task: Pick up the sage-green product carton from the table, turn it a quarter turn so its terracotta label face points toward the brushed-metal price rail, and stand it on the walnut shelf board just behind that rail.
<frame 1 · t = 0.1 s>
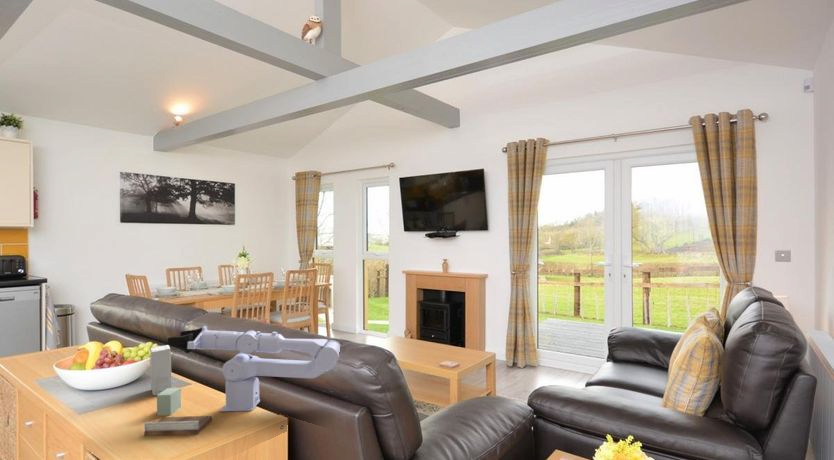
hand: (174, 338, 136), 22 cm above the sideboard, tool horizontal, fingers open, 7 cm apart
product carton: (169, 411, 134), on the sideboard
price rail: (171, 425, 118), on the shelf board, point 2 cm above the sideboard
shelf board: (179, 427, 123), on the sideboard
skincare box: (161, 391, 152), on the sideboard
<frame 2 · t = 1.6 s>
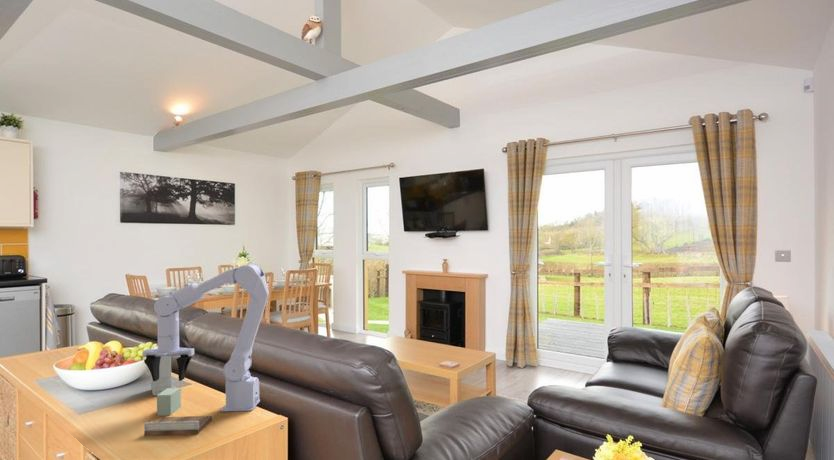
hand: (168, 379, 134), 9 cm above the sideboard, tool pointing down, fingers open, 7 cm apart
nothing on the sideboard moved.
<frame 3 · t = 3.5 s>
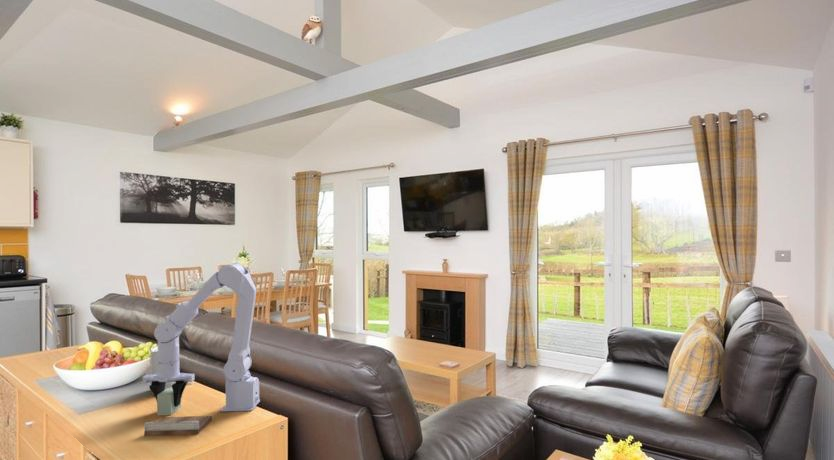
hand: (169, 405, 134), 2 cm above the sideboard, tool pointing down, fingers closed on product carton, 4 cm apart
product carton: (169, 411, 134), on the sideboard, touching gripper
everything else where it was.
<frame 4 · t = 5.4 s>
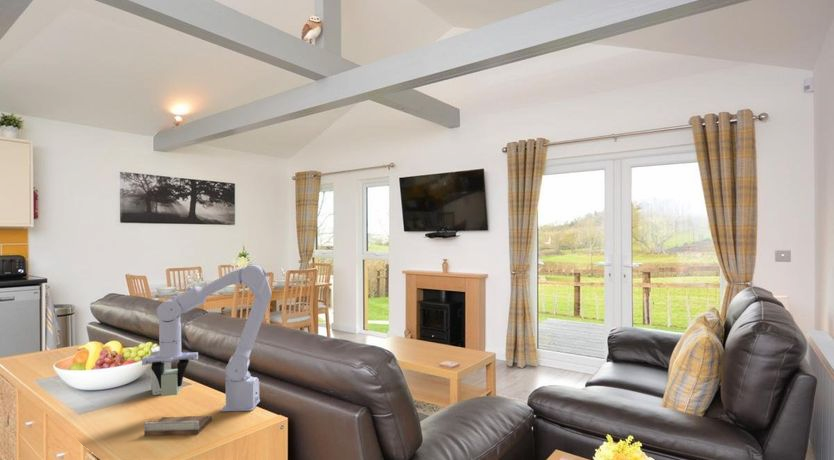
hand: (171, 386, 132), 8 cm above the sideboard, tool pointing down, fingers closed on product carton, 4 cm apart
product carton: (171, 392, 132), point 7 cm above the sideboard, touching gripper
everything else where it was.
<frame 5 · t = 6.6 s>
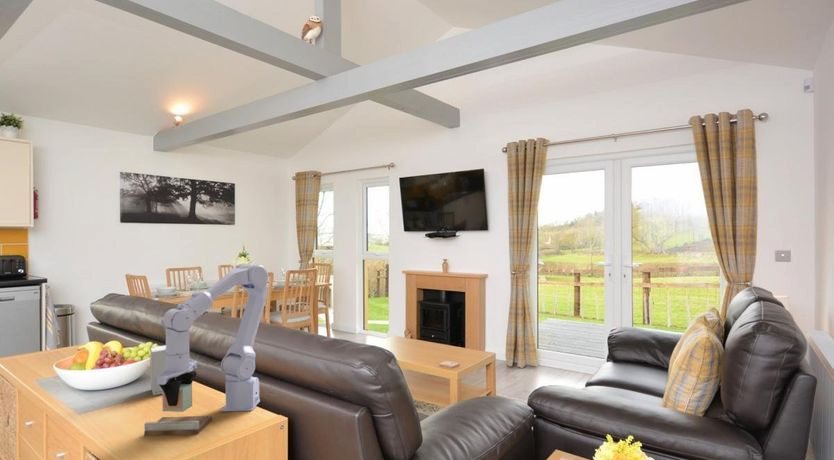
hand: (178, 402, 122), 7 cm above the sideboard, tool pointing down, fingers closed on product carton, 4 cm apart
product carton: (177, 408, 122), point 5 cm above the sideboard, touching gripper
everything else where it was.
when the fingers open (4 cm above the sideboard, at t = 7.6 s): product carton stays where it is, resting on shelf board.
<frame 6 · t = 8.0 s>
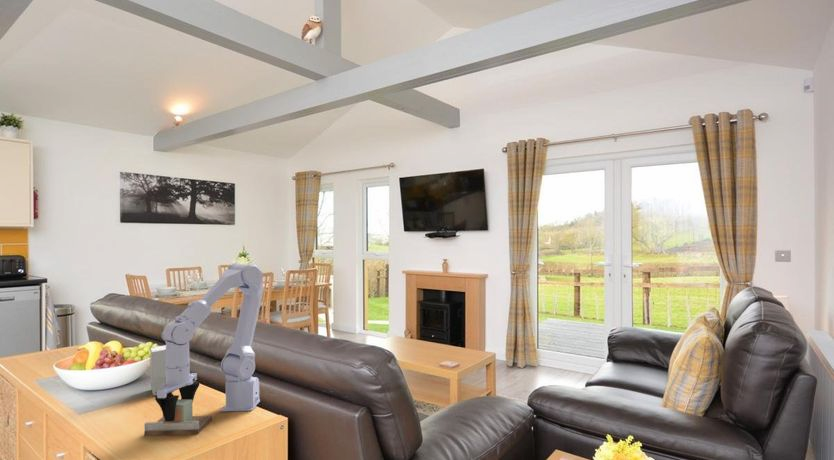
hand: (178, 414, 122), 4 cm above the sideboard, tool pointing down, fingers open, 7 cm apart
product carton: (177, 423, 122), point 1 cm above the sideboard, touching shelf board
everything else where it was.
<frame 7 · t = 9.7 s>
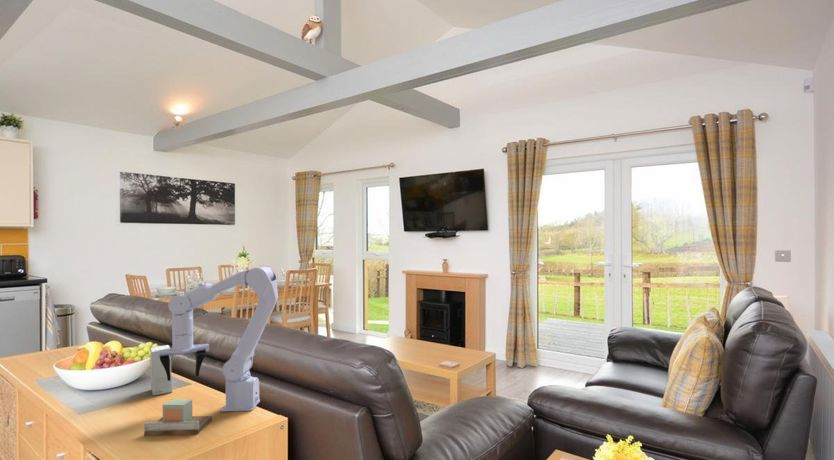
hand: (183, 377, 136), 9 cm above the sideboard, tool pointing down, fingers open, 7 cm apart
nothing on the sideboard moved.
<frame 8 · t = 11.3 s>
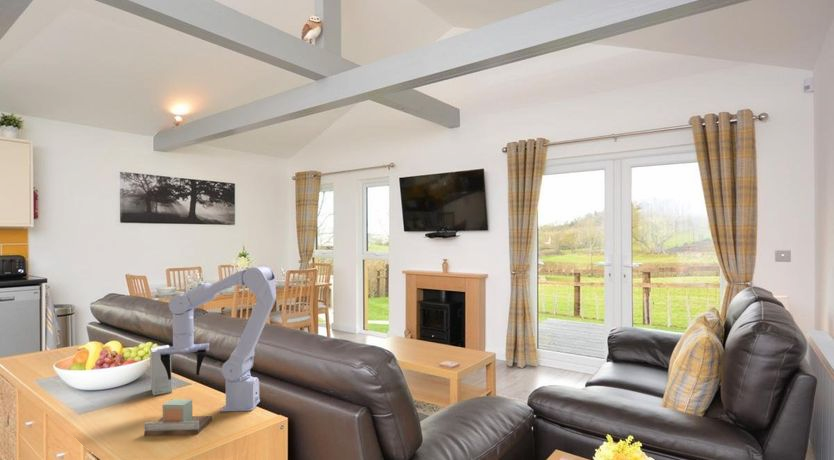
hand: (183, 376, 137), 9 cm above the sideboard, tool pointing down, fingers open, 7 cm apart
nothing on the sideboard moved.
at the end: product carton inside the target area (0.2 cm from its centre), point 1.2 cm above the sideboard; product carton tilted 0°; the gripper is holding nothing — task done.
